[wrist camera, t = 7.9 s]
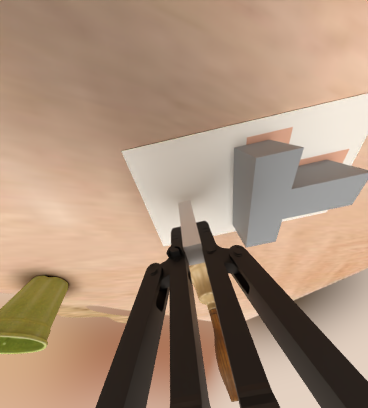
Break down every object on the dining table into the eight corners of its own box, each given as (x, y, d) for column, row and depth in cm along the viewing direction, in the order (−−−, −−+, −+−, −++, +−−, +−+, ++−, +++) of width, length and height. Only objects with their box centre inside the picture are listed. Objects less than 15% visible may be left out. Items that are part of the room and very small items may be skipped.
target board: (121, 150, 14) (121, 151, 14) (389, 87, 13) (393, 87, 13) (163, 245, 23) (163, 246, 23) (325, 211, 22) (326, 212, 22)
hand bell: (206, 254, 26) (246, 401, 12) (230, 268, 29) (280, 393, 16) (177, 274, 29) (185, 410, 15) (202, 284, 32) (226, 401, 19)
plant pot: (55, 298, 29) (17, 357, 22) (7, 279, 24) (-61, 348, 17) (89, 285, 28) (61, 344, 21) (46, 263, 23) (-11, 331, 16)
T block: (234, 147, 15) (256, 158, 11) (342, 123, 14) (402, 125, 11) (232, 224, 21) (246, 247, 18) (306, 209, 21) (336, 229, 17)
